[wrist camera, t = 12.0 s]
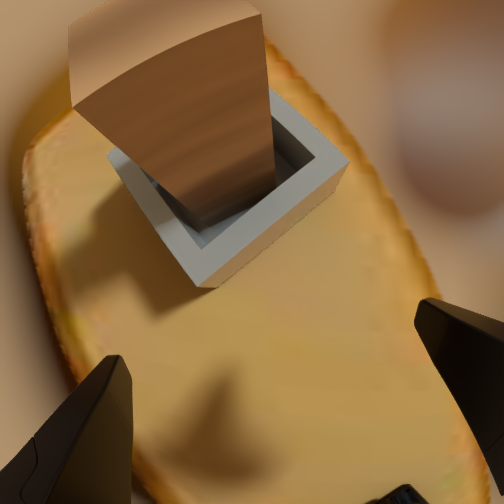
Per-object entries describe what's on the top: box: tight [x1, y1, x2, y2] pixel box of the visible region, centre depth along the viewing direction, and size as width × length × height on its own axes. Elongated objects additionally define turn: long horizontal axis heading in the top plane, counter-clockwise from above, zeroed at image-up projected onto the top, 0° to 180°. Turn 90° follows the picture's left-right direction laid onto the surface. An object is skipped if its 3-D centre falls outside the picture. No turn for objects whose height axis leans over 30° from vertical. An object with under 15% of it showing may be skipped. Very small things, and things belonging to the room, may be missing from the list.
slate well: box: [106, 88, 350, 288], centre depth 16 cm, size 9×9×5 cm
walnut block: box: [68, 0, 276, 227], centre depth 11 cm, size 4×4×13 cm
